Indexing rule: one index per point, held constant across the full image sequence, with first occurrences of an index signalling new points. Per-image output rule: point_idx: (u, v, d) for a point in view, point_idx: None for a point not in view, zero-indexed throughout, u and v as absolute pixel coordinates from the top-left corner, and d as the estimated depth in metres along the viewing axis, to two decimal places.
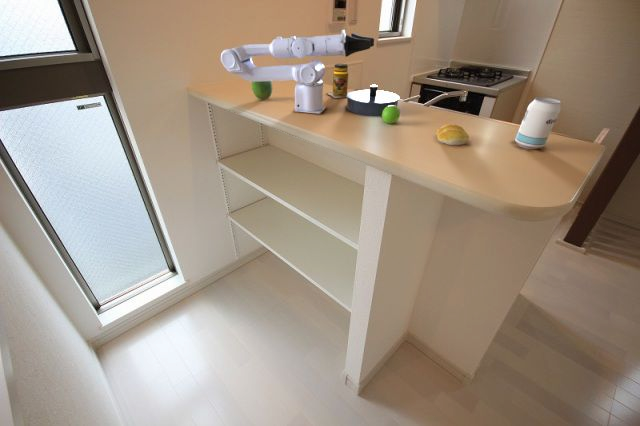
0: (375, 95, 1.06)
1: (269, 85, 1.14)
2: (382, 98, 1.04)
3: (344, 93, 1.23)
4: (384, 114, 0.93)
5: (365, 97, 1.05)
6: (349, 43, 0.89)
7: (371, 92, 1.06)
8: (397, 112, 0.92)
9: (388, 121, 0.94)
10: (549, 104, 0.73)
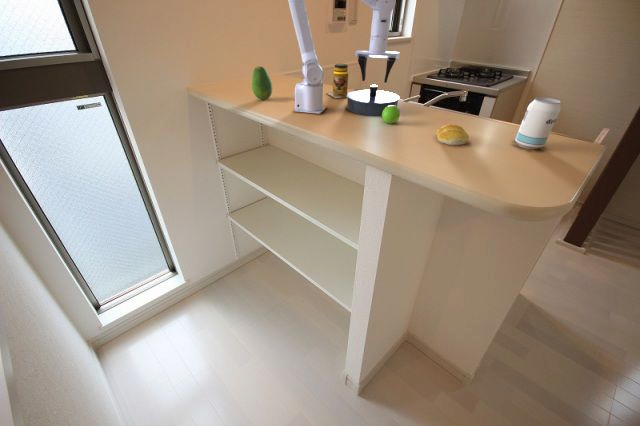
0: (375, 95, 1.06)
1: (269, 85, 1.14)
2: (382, 98, 1.04)
3: (344, 93, 1.23)
4: (384, 114, 0.93)
5: (365, 97, 1.05)
6: None
7: (371, 92, 1.06)
8: (397, 112, 0.92)
9: (388, 121, 0.94)
10: (549, 104, 0.73)
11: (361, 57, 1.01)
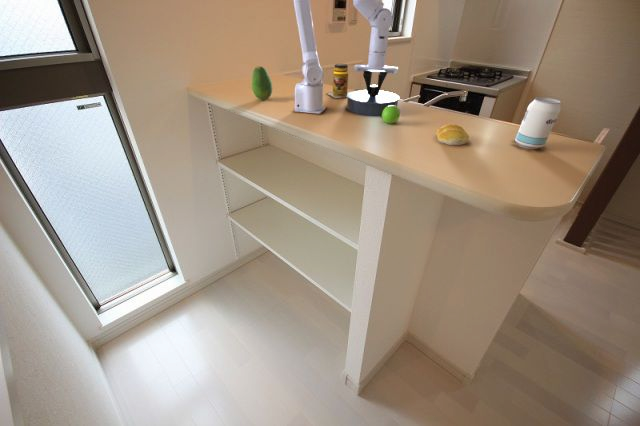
0: (375, 95, 1.06)
1: (269, 85, 1.14)
2: (382, 98, 1.04)
3: (344, 93, 1.23)
4: (384, 114, 0.93)
5: (365, 97, 1.05)
6: None
7: (371, 92, 1.06)
8: (397, 112, 0.92)
9: (388, 121, 0.94)
10: (549, 104, 0.73)
11: (366, 72, 1.03)
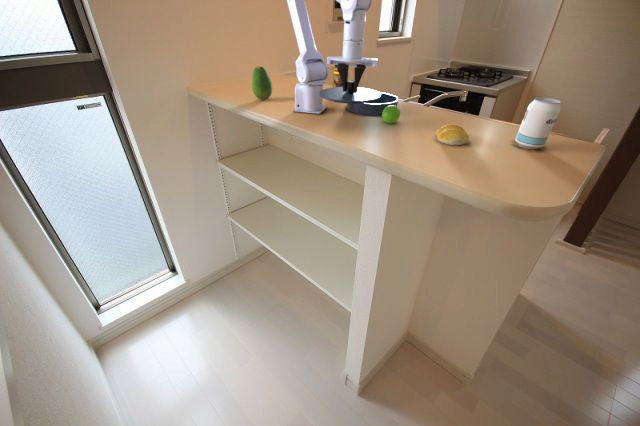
0: (352, 92, 0.90)
1: (269, 85, 1.14)
2: (360, 96, 0.88)
3: None
4: (384, 114, 0.93)
5: (340, 94, 0.89)
6: None
7: (347, 89, 0.90)
8: (397, 112, 0.92)
9: (388, 121, 0.94)
10: (549, 104, 0.73)
11: (341, 64, 0.87)
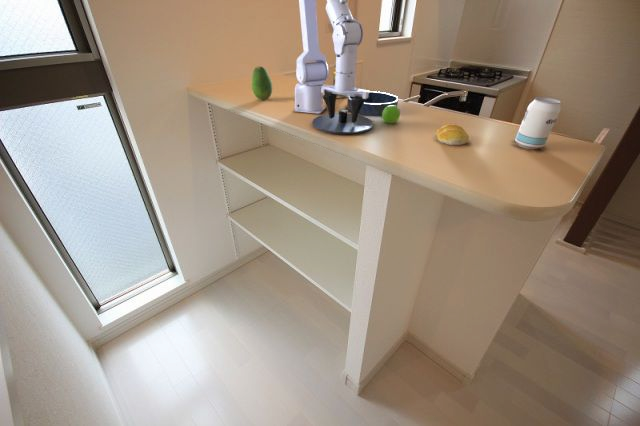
0: (344, 121, 0.92)
1: (269, 85, 1.14)
2: (350, 126, 0.90)
3: None
4: (384, 114, 0.93)
5: (331, 123, 0.92)
6: None
7: (339, 118, 0.92)
8: (397, 112, 0.92)
9: (388, 121, 0.94)
10: (549, 104, 0.73)
11: (327, 93, 0.90)
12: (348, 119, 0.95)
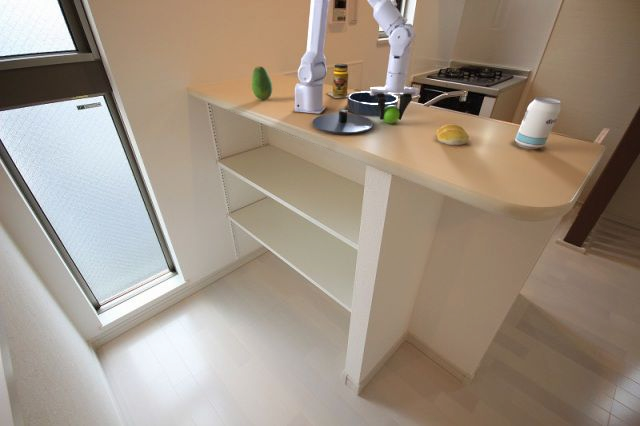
0: (344, 121, 0.92)
1: (269, 85, 1.14)
2: (350, 126, 0.90)
3: (344, 93, 1.23)
4: (384, 114, 0.93)
5: (331, 123, 0.92)
6: None
7: (339, 118, 0.92)
8: (397, 112, 0.92)
9: (388, 121, 0.94)
10: (549, 104, 0.73)
11: (380, 95, 0.90)
12: (348, 119, 0.95)
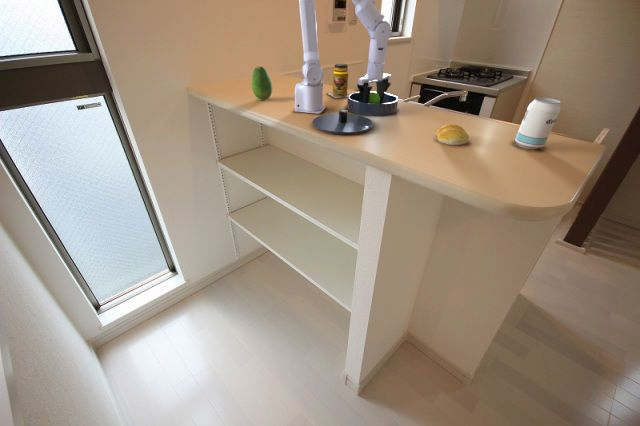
0: (344, 121, 0.92)
1: (269, 85, 1.14)
2: (350, 126, 0.90)
3: (344, 93, 1.23)
4: (370, 100, 1.06)
5: (331, 123, 0.92)
6: None
7: (339, 118, 0.92)
8: (379, 96, 1.07)
9: None
10: (549, 104, 0.73)
11: (365, 84, 1.01)
12: (348, 119, 0.95)
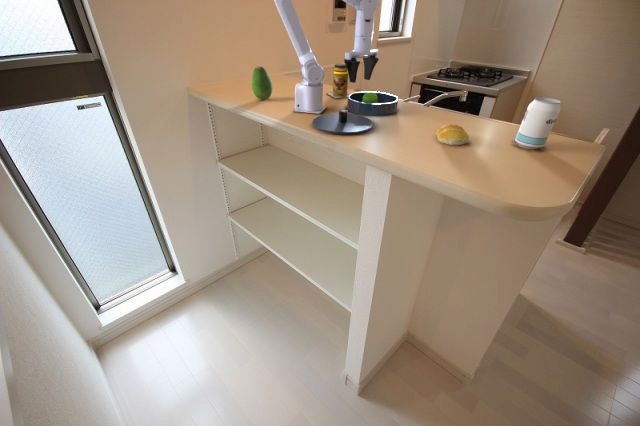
0: (344, 121, 0.92)
1: (269, 85, 1.14)
2: (350, 126, 0.90)
3: (344, 93, 1.23)
4: (367, 101, 1.06)
5: (331, 123, 0.92)
6: None
7: (339, 118, 0.92)
8: (375, 94, 1.07)
9: None
10: (549, 104, 0.73)
11: (353, 59, 0.97)
12: (348, 119, 0.95)
